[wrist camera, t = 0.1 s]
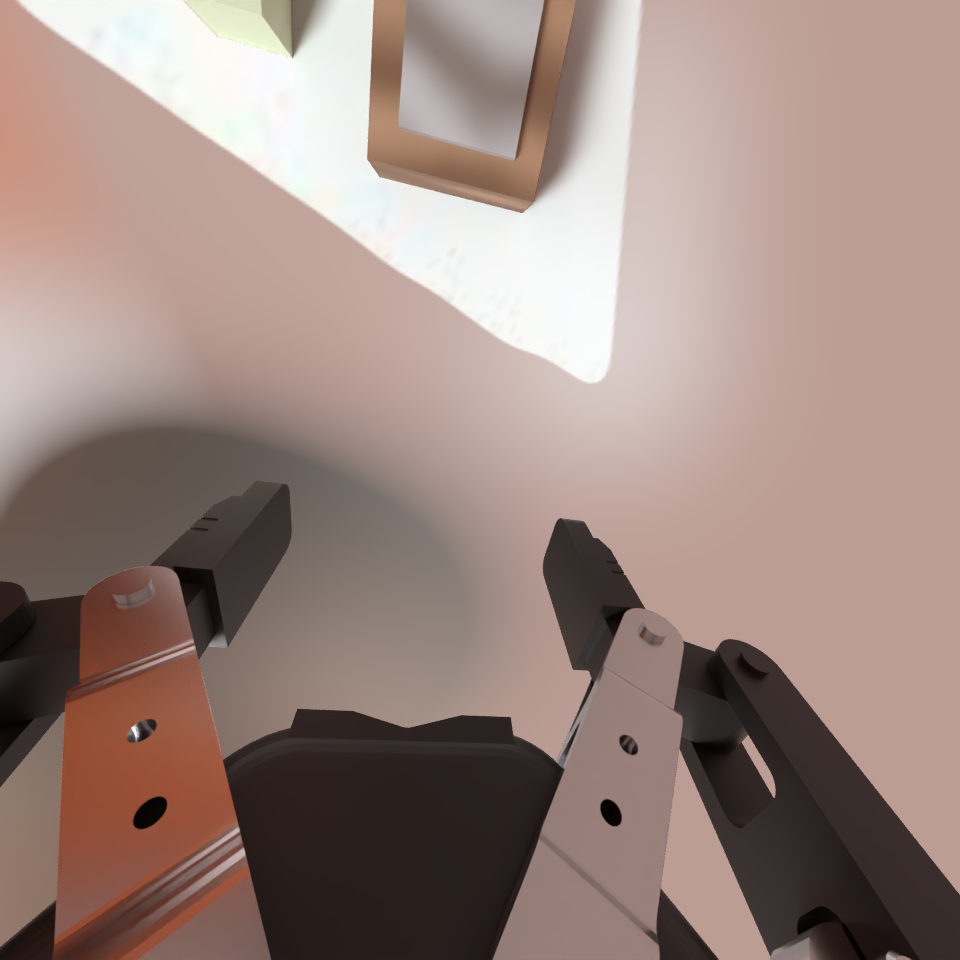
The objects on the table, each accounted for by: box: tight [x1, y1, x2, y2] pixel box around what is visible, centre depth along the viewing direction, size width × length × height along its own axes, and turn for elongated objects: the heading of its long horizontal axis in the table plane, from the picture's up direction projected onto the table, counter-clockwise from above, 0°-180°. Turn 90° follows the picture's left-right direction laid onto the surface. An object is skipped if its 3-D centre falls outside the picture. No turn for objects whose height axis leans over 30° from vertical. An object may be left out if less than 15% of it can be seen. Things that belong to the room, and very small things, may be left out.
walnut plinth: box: [367, 0, 576, 213], centre depth 26 cm, size 12×12×6 cm
